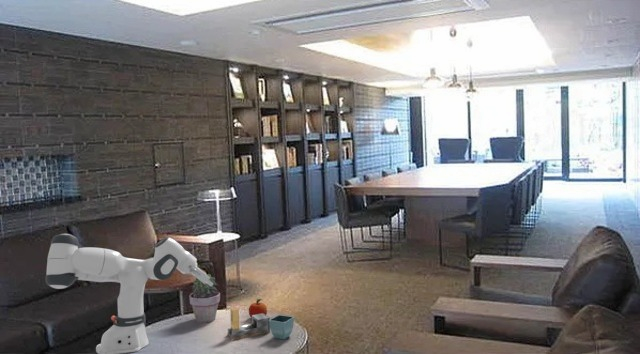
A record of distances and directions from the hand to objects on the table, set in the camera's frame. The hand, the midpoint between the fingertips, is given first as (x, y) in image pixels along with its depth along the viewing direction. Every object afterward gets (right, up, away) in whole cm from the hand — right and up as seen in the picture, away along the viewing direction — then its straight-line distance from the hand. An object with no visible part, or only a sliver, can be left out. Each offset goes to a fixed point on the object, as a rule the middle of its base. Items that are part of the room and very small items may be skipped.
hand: (208, 282), depth 254 cm
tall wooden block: (+14, -25, +9) cm, 30 cm away
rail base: (+16, -26, +11) cm, 33 cm away
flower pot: (+33, -27, +5) cm, 43 cm away
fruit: (+19, -25, +33) cm, 45 cm away
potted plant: (-8, -26, +33) cm, 42 cm away
